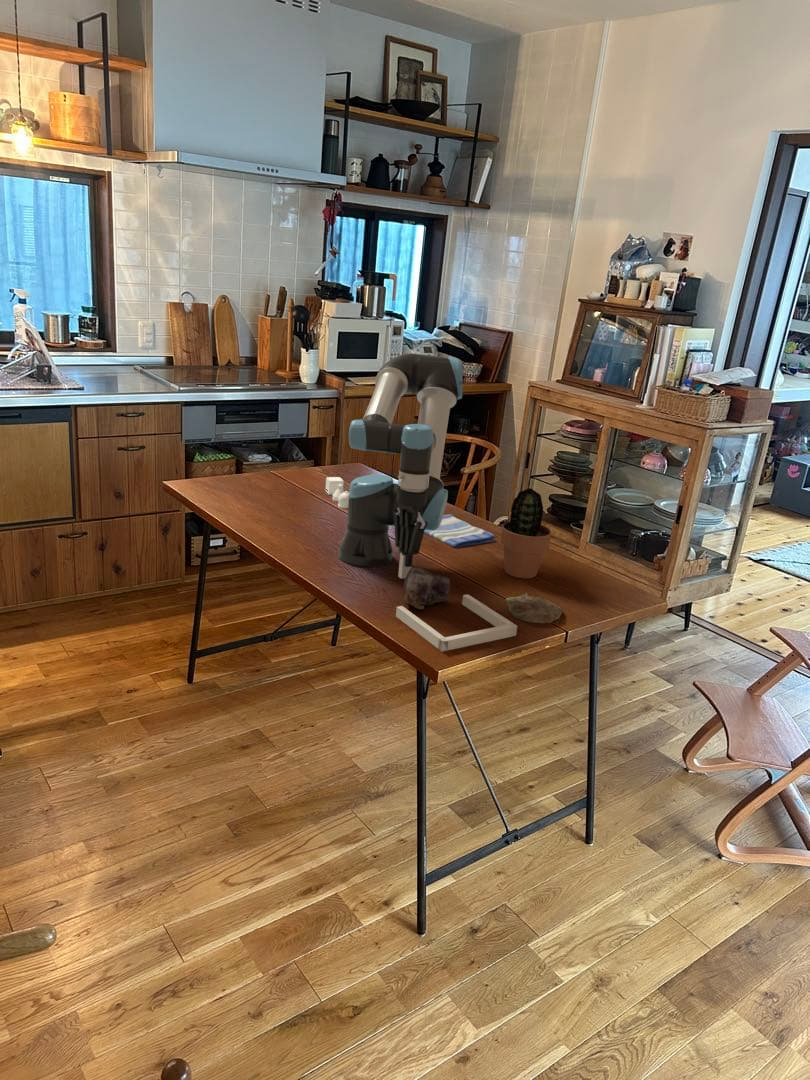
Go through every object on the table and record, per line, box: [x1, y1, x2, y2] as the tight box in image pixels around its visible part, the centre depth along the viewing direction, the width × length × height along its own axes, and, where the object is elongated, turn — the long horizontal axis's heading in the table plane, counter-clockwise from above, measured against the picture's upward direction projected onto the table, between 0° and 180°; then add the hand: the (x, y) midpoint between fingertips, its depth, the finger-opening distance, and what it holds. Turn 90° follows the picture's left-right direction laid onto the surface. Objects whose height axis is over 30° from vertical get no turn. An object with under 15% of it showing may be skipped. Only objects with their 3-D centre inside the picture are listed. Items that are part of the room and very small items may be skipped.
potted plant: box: [500, 487, 553, 579], centre depth 225 cm, size 14×14×25 cm
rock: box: [403, 566, 451, 610], centre depth 202 cm, size 12×9×10 cm
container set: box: [325, 476, 349, 509], centre depth 280 cm, size 20×5×6 cm, turn 20°
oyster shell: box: [505, 592, 563, 624], centre depth 202 cm, size 11×15×6 cm
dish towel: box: [424, 513, 496, 549], centre depth 257 cm, size 17×24×3 cm
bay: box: [395, 594, 518, 653], centre depth 192 cm, size 20×21×2 cm
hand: (404, 576), depth 209 cm, fingers closed
